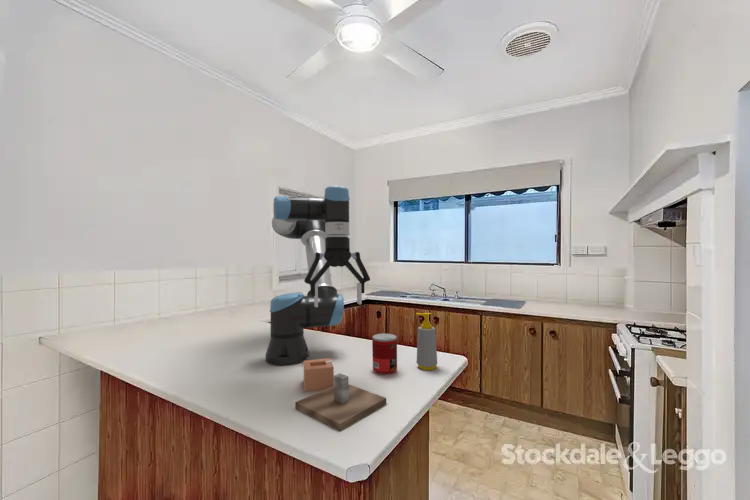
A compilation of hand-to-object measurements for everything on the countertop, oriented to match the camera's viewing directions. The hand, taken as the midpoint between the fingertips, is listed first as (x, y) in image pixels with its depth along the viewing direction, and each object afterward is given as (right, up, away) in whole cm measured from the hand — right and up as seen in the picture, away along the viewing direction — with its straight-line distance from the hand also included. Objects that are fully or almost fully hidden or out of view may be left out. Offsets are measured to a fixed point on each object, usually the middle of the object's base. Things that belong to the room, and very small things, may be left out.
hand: (338, 305), depth 101 cm
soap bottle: (+29, -22, +7) cm, 37 cm away
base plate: (+3, -22, -20) cm, 30 cm away
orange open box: (-5, -22, -6) cm, 23 cm away
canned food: (+15, -22, +5) cm, 27 cm away
